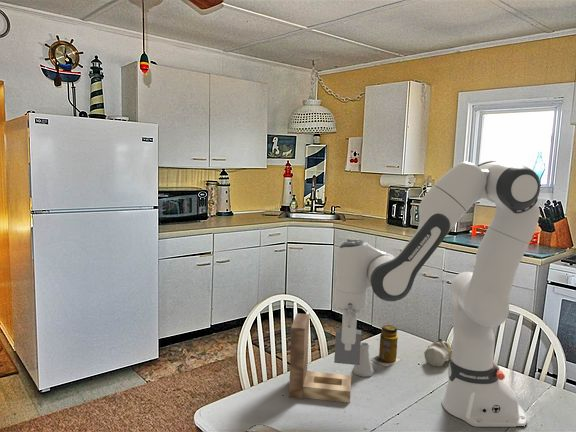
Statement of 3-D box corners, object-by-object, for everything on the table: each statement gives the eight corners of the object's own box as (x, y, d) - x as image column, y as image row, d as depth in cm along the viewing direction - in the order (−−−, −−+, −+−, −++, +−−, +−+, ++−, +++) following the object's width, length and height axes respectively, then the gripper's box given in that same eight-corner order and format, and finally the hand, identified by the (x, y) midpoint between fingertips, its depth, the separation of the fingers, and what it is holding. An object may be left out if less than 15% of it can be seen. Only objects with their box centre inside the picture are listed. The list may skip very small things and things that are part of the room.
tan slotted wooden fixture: (350, 384, 146) (354, 317, 143) (349, 404, 135) (353, 332, 131) (294, 378, 149) (296, 313, 146) (289, 397, 137) (291, 327, 134)
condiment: (401, 359, 165) (403, 327, 163) (387, 367, 159) (389, 334, 157) (383, 353, 170) (385, 322, 168) (370, 359, 164) (372, 327, 162)
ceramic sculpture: (418, 339, 161) (434, 329, 173) (415, 363, 162) (431, 351, 174) (448, 348, 154) (463, 337, 166) (445, 373, 155) (460, 360, 167)
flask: (373, 378, 150) (375, 349, 149) (351, 376, 152) (353, 347, 150) (374, 368, 157) (376, 340, 156) (353, 366, 159) (354, 338, 157)
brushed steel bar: (359, 360, 131) (361, 330, 129) (359, 365, 128) (361, 334, 126) (334, 358, 132) (336, 328, 130) (334, 362, 129) (335, 332, 127)
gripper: (362, 312, 116) (359, 363, 118) (361, 288, 136) (358, 333, 138) (337, 310, 117) (335, 361, 119) (340, 287, 137) (337, 331, 139)
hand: (347, 346), depth 129 cm, fingers closed on brushed steel bar, 3 cm apart
